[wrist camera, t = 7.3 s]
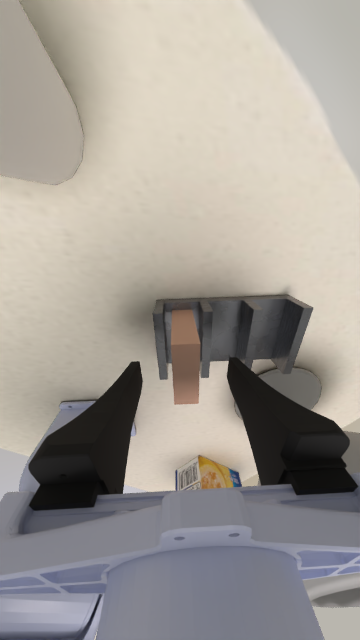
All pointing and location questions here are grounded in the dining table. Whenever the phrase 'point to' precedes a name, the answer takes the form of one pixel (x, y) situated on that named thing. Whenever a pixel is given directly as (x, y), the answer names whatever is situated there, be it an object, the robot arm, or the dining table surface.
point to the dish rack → (236, 329)
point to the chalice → (306, 393)
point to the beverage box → (205, 475)
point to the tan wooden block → (185, 357)
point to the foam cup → (34, 106)
